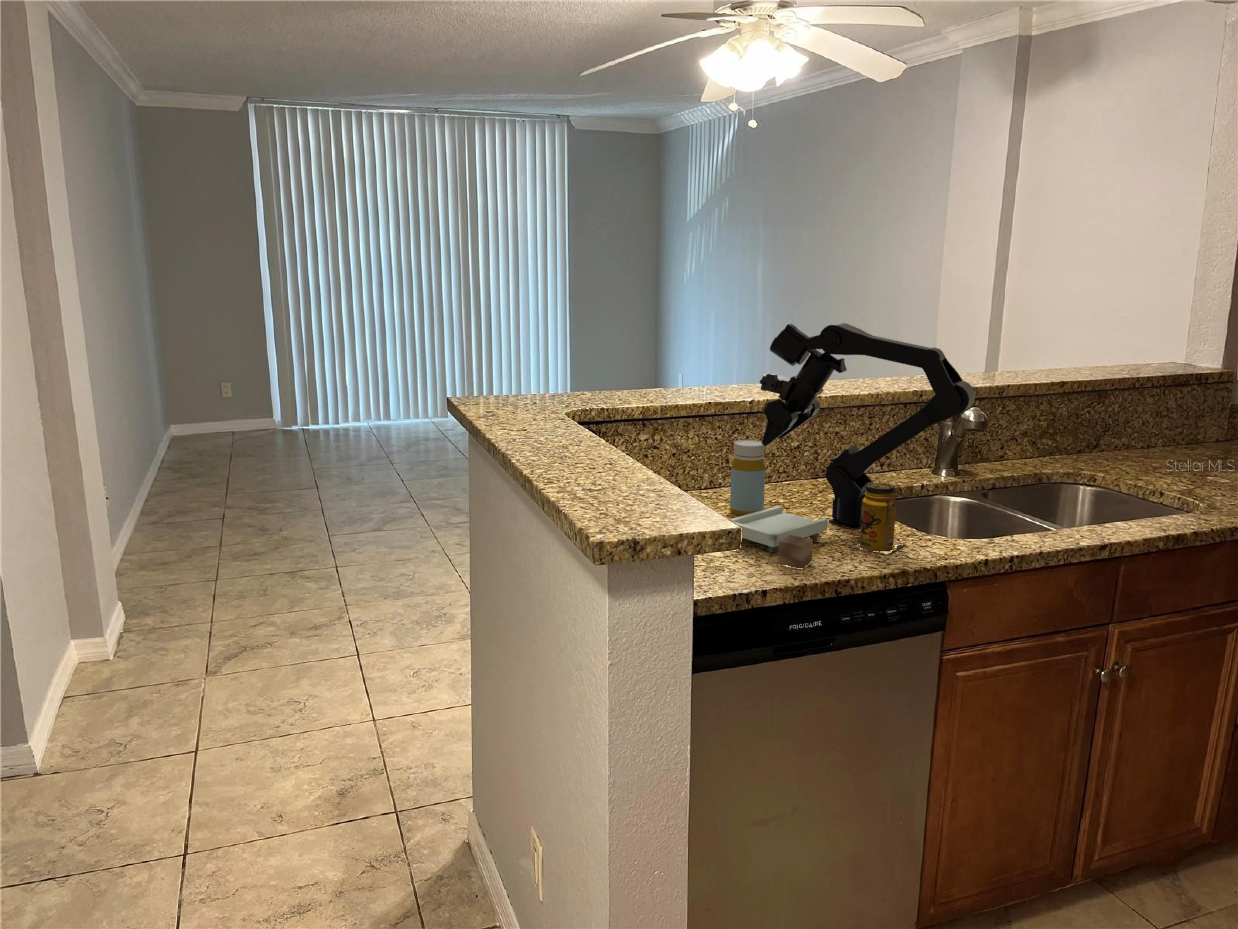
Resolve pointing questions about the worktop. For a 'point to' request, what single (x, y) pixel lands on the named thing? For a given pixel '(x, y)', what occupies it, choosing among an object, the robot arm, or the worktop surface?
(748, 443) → the bottle
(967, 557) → the worktop surface
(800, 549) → the walnut block
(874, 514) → the condiment
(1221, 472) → the worktop surface
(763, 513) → the tray
